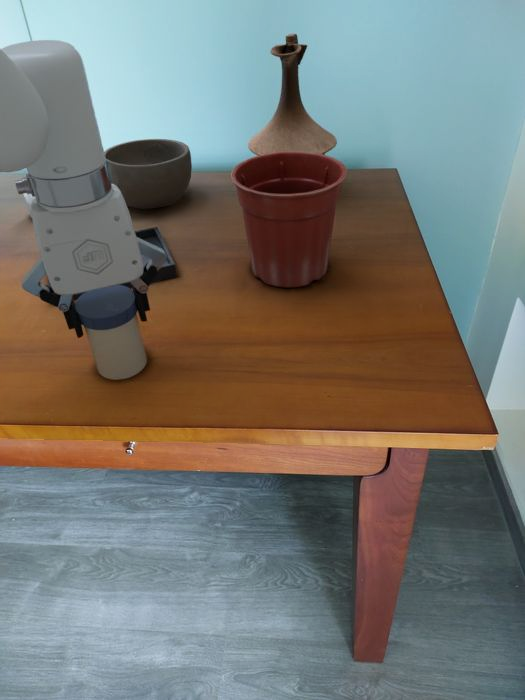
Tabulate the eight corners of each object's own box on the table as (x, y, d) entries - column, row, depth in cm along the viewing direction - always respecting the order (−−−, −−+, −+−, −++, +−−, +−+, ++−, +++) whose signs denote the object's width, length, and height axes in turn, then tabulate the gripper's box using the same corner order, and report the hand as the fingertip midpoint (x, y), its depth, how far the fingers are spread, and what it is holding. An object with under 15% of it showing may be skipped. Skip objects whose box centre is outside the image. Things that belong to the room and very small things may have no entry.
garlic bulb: (65, 216, 103) (57, 189, 100) (34, 223, 101) (25, 197, 98) (59, 206, 107) (51, 180, 104) (29, 213, 105) (19, 187, 101)
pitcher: (255, 175, 115) (248, 28, 97) (333, 175, 114) (341, 25, 96) (246, 211, 102) (236, 47, 84) (334, 211, 100) (343, 44, 82)
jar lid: (81, 336, 60) (77, 324, 59) (75, 303, 65) (71, 292, 64) (142, 321, 62) (140, 309, 61) (132, 290, 67) (129, 279, 66)
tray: (54, 304, 80) (49, 291, 78) (49, 260, 90) (45, 248, 89) (177, 276, 85) (175, 264, 83) (159, 238, 95) (157, 226, 93)
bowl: (174, 176, 117) (167, 129, 111) (211, 203, 105) (205, 153, 99) (99, 195, 110) (87, 147, 104) (129, 227, 99) (118, 175, 92)
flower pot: (219, 265, 87) (208, 169, 77) (296, 234, 94) (296, 142, 84) (280, 310, 77) (277, 206, 66) (361, 271, 84) (371, 172, 73)
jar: (100, 385, 66) (81, 324, 60) (94, 354, 70) (76, 295, 64) (151, 372, 67) (137, 311, 61) (142, 342, 72) (128, 284, 66)
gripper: (-21, 214, 48) (39, 360, 60) (164, 181, 53) (187, 323, 64) (-19, 184, 54) (36, 323, 65) (149, 157, 58) (173, 291, 69)
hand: (111, 322), depth 65 cm, fingers closed on jar lid, 7 cm apart
